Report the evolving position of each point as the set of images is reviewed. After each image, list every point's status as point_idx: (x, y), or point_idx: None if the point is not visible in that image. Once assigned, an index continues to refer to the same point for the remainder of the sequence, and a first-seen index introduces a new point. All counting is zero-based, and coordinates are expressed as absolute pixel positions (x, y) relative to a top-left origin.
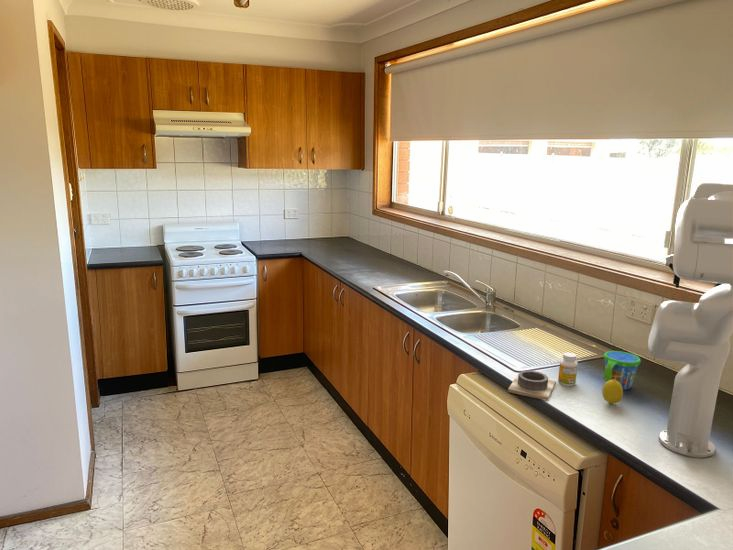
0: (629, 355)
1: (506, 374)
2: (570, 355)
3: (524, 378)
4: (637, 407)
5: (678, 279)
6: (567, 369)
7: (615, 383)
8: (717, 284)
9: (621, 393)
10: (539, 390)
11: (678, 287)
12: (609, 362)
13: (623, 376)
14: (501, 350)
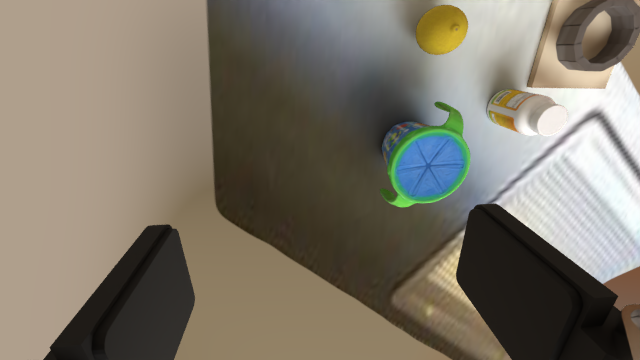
0: (411, 190)
1: (620, 86)
2: (552, 114)
3: (633, 6)
4: (375, 46)
5: (542, 248)
6: (534, 94)
7: (451, 16)
8: (130, 273)
9: (425, 18)
10: (578, 7)
11: (472, 209)
12: (460, 124)
13: (412, 125)
14: (603, 208)
